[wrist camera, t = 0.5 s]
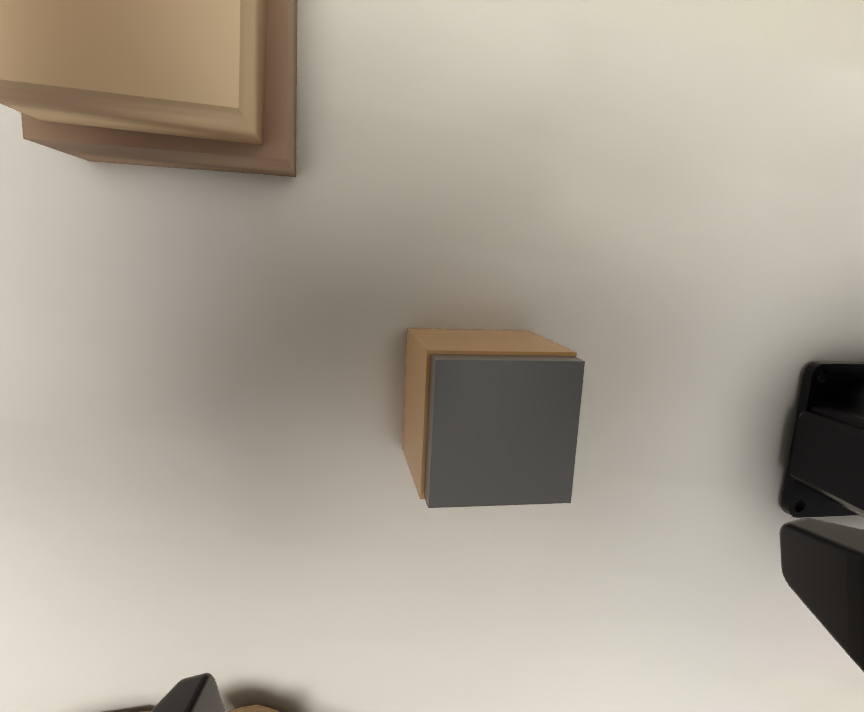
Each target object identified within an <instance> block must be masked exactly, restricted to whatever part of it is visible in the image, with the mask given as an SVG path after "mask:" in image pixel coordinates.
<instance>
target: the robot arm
mask: <svg viewBox="0 0 864 712" xmlns="http://www.w3.org/2000/svg"><path fill="white" fill-rule="evenodd" d="M819 372H820V376H819V377H818V378H817V376H818V373H819ZM796 503H797V504H796ZM795 504H796V505H795ZM782 509H783V511H785V512H786V513H788V514H789V515H791V516H793V517H796V518H802V517H824V516H846V515H861V516H863V517H864V362H818V361H817V362H812V363H811V364H809V365H808V366H807V368H806V369H805V372H804V376H803V382H802V387H801V393H800V399H799V405H798V410H797V416H796V422H795V428H794V433H793V439H792V445H791V451H790V457H789V462H788V468H787V474H786V480H785V485H784V491H783V497H782ZM780 548H781V566H782V572H783V576H784V578H785V580H786V582H787V583H788V585H789V586H790V587H791V589H792V590H793V591H794V592H795V593H796V594H797V596H798V597H799V598H800V599H801V600H802V601H803V603H804V604H805V605H806V606H807V607H808V608H809V610H810V611H811V612H812V613H813V614H814V615H815V617H816V618H817V619H818V620H819V621H820V622H821V624H822V625H823V626H824V627H825V628H826V629H827V631H828V632H829V633H830V634H831V635H832V636H833V638H834V639H835V640H836V641H837V642H838V643H839V645H840V646H841V647H842V648H843V649H844V650H845V652H846V653H847V654H848V655H849V656H850V657H851V658H852V660H853V661H854V662H855V663H856V664H857V665H858V666H859V667H860V668H861V670H862V671H863V672H864V530H861V529H856V528H852V527H847V526H843V525H838V524H834V523H829V522H824V521H820V520H815V519H811V518H803V519H799V520H796V521H792V522H788V523H785V524H784V525H783V526H782V527H781V529H780ZM150 712H225V710H224V707H223V704H222V700H221V697H220V694H219V691H218V687H217V684H216V681H215V679H214V677H213V676H212V675H211V674H209V673H204V674H200V675H196V676H193V677H189V678H185V679H182V680H181V681H180V682H178V683H177V684H176V685H175V686H174V687H173V688H172V689H171V691H170V692H169V693H168V694H167V695H166V696H165V697H164V698H163V699H162V700H161V701H160V702H159V703H158V704H157V705H156V706H155V707H154V708H153V709H152V710H151V711H150Z"/></svg>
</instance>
